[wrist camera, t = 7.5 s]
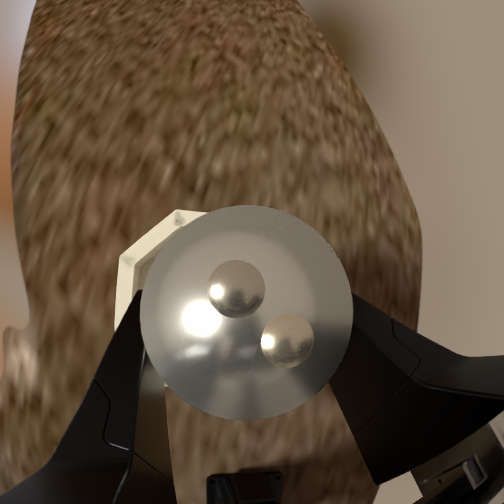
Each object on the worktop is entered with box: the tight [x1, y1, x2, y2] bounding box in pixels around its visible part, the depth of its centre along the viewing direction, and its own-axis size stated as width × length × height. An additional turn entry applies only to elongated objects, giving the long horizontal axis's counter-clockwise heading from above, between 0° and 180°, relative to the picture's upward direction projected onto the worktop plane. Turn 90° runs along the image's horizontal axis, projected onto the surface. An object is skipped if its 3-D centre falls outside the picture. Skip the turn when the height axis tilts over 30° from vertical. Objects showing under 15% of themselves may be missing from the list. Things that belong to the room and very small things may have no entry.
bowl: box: [114, 209, 207, 386], centre depth 19 cm, size 11×11×4 cm
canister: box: [140, 205, 353, 421], centre depth 10 cm, size 4×4×10 cm
